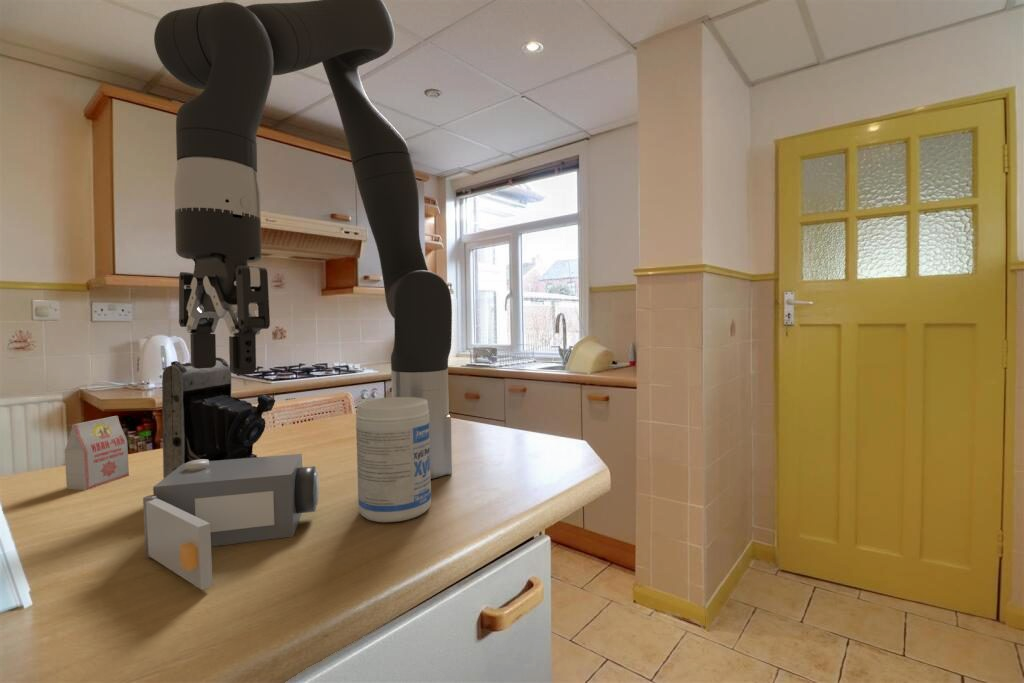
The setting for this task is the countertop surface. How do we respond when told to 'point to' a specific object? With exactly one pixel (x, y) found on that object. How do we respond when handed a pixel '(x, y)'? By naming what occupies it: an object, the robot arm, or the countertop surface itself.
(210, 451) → the vintage camera
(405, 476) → the supplement tub
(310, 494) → the camera housing
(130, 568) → the countertop surface
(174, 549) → the side door
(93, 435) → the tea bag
